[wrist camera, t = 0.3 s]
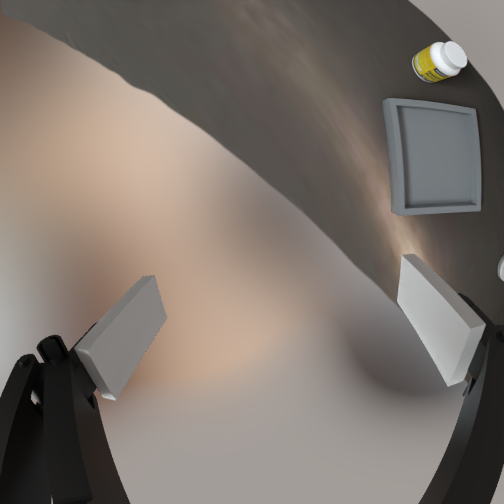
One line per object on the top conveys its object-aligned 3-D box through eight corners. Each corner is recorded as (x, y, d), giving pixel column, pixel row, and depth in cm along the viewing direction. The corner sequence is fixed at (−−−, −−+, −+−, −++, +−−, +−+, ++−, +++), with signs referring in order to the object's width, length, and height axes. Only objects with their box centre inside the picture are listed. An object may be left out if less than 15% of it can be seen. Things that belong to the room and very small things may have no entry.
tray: (381, 101, 32) (388, 98, 29) (465, 110, 30) (475, 109, 27) (391, 211, 38) (398, 215, 35) (470, 207, 35) (480, 210, 33)
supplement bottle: (414, 81, 30) (445, 67, 21) (408, 51, 28) (436, 32, 19) (440, 86, 29) (474, 75, 20) (435, 57, 27) (465, 41, 18)
